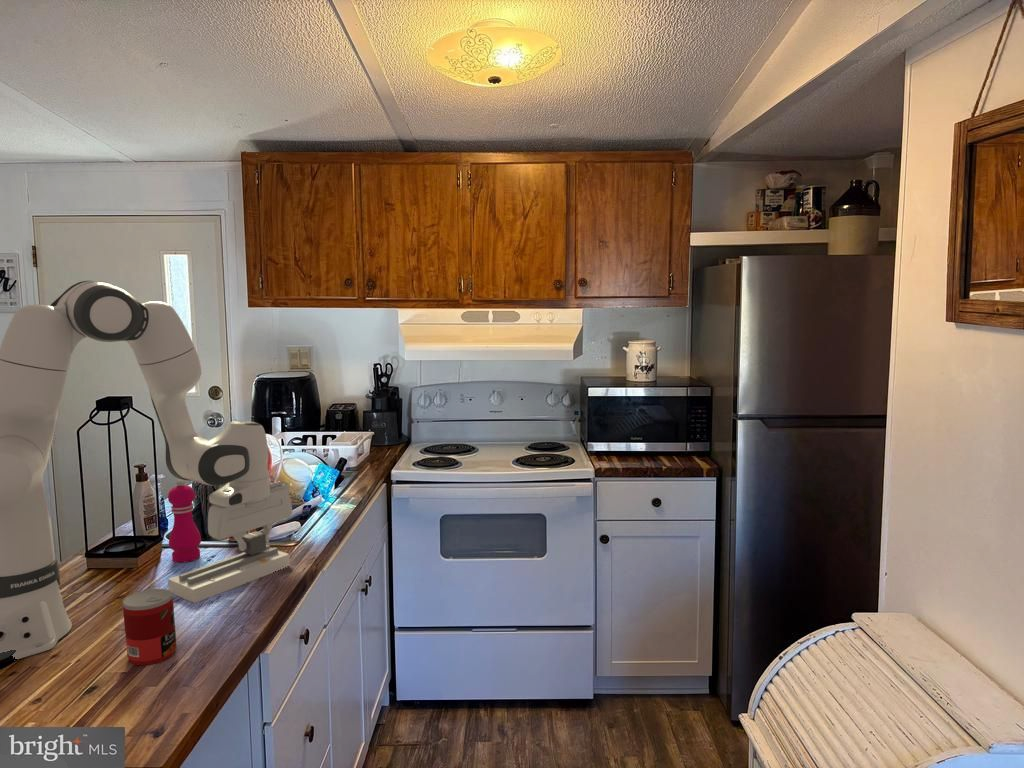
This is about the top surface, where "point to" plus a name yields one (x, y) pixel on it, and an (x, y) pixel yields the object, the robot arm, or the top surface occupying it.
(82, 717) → the top surface
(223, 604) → the top surface
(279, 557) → the fader console
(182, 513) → the pepper mill
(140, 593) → the canned food
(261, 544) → the fader tab
